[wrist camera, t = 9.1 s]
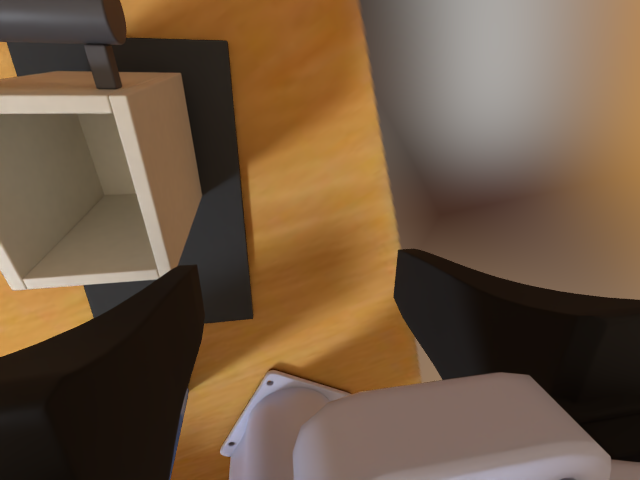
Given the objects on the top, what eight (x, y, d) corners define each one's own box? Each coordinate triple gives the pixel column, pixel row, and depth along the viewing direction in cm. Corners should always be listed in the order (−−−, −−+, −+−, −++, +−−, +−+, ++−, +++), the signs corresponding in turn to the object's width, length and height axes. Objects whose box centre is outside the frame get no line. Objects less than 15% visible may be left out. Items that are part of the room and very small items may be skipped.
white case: (173, 278, 13) (93, -33, 8) (11, 291, 12) (-191, -50, 7) (202, 195, 19) (168, 2, 15) (101, 200, 18) (29, -5, 14)
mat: (253, 315, 23) (253, 319, 23) (101, 330, 22) (98, 334, 22) (227, 41, 17) (227, 40, 17) (9, 35, 15) (3, 34, 15)
